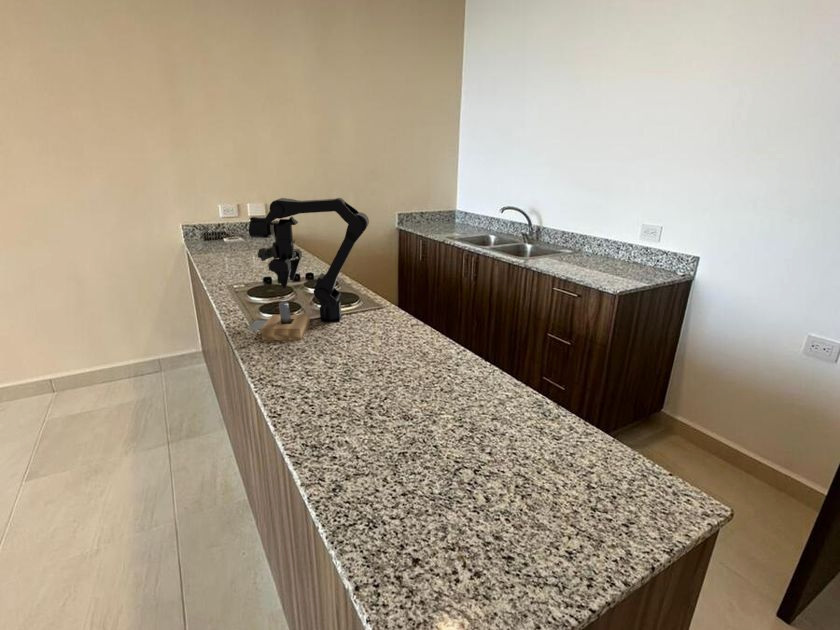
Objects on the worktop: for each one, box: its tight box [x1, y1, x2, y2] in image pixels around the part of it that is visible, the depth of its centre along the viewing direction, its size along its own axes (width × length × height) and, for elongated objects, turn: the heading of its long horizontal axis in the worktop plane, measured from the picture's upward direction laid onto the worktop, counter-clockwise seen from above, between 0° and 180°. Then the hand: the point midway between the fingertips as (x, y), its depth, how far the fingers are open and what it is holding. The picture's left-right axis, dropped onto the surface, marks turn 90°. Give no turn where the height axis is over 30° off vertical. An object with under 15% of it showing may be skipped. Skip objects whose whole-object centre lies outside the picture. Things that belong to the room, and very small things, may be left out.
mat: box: [247, 319, 268, 331], centre depth 154 cm, size 7×8×1 cm
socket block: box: [260, 314, 311, 341], centre depth 148 cm, size 12×12×4 cm
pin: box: [278, 301, 291, 324], centre depth 147 cm, size 3×3×10 cm
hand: (288, 284), depth 157 cm, fingers open, 9 cm apart
